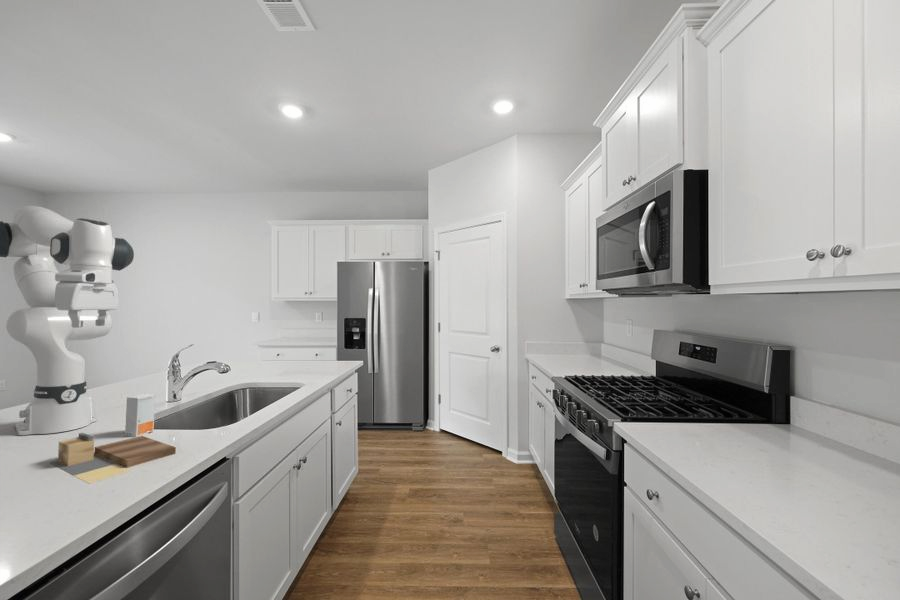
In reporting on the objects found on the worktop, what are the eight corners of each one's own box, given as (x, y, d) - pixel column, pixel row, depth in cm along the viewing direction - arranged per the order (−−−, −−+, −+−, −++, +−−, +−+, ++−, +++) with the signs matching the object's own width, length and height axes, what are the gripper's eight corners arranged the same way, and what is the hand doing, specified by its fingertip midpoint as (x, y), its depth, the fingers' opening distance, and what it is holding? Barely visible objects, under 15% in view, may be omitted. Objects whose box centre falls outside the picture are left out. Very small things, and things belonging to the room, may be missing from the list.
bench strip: (48, 463, 101) (48, 462, 101) (88, 453, 108) (88, 452, 108) (89, 484, 90) (89, 483, 90) (131, 472, 97) (131, 470, 97)
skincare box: (136, 437, 121) (137, 398, 121) (124, 436, 122) (125, 397, 122) (154, 431, 127) (155, 394, 127) (143, 430, 128) (144, 393, 128)
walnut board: (94, 454, 107) (94, 447, 107) (141, 442, 117) (141, 435, 117) (127, 468, 99) (127, 460, 99) (175, 454, 108) (175, 447, 108)
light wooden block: (58, 461, 102) (59, 437, 102) (83, 455, 106) (84, 432, 106) (68, 466, 99) (68, 441, 99) (93, 459, 103) (94, 436, 103)
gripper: (102, 279, 121) (100, 324, 120) (49, 273, 101) (47, 328, 100) (126, 279, 122) (124, 325, 122) (78, 274, 102) (76, 328, 102)
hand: (89, 326), depth 111 cm, fingers open, 8 cm apart
